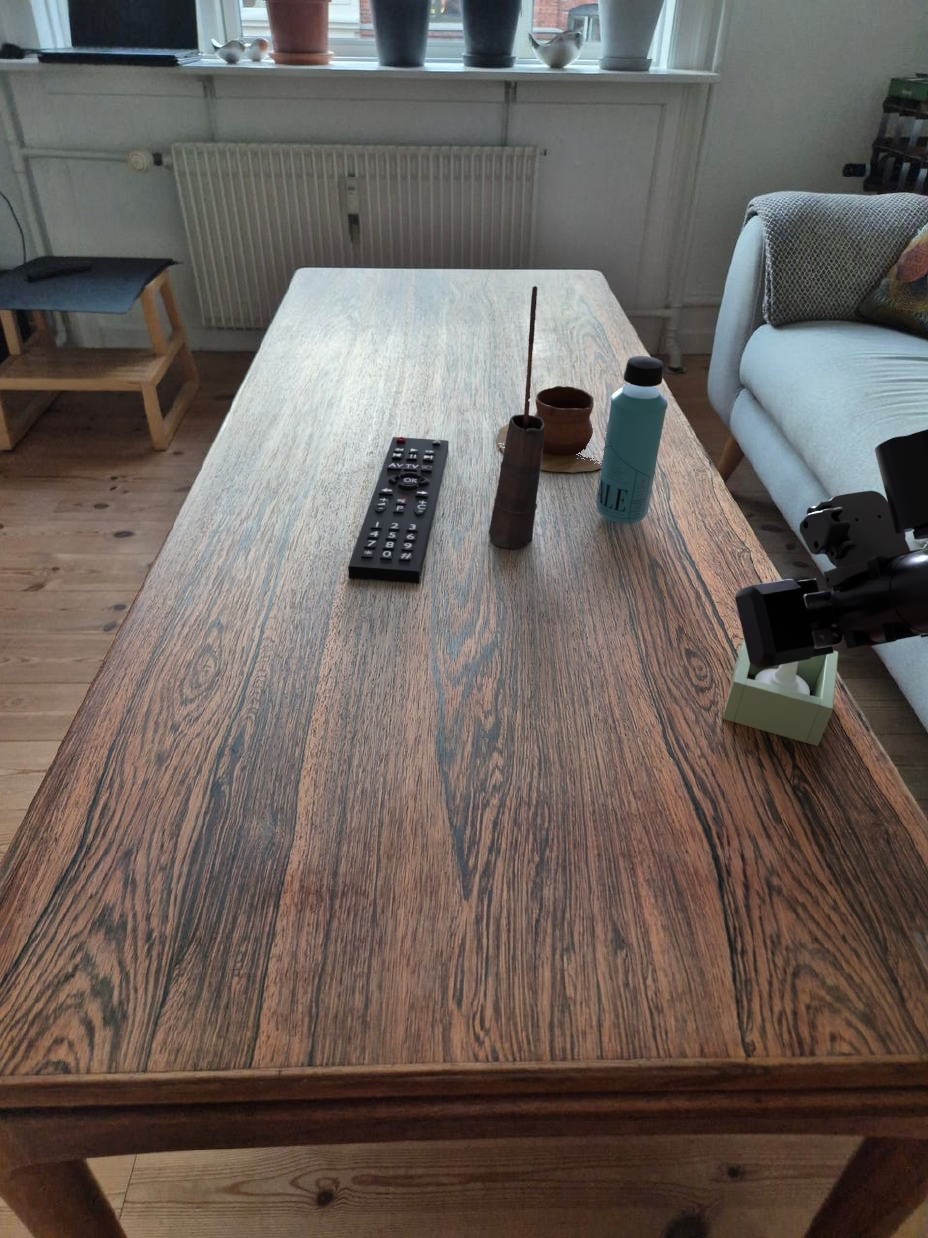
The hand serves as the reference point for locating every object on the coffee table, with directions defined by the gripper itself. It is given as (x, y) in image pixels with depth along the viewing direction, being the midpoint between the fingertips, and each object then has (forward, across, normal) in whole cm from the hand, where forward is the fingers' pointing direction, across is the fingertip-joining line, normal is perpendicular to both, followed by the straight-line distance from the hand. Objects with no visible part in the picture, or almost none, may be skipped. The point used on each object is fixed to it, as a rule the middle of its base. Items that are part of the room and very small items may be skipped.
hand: (790, 625), depth 73 cm
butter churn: (+27, +14, -16) cm, 35 cm away
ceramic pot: (+43, 0, -32) cm, 54 cm away
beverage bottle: (+28, 0, -17) cm, 33 cm away
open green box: (+5, 0, +7) cm, 8 cm away
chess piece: (+4, 0, +6) cm, 7 cm away
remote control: (+35, +25, -24) cm, 49 cm away
